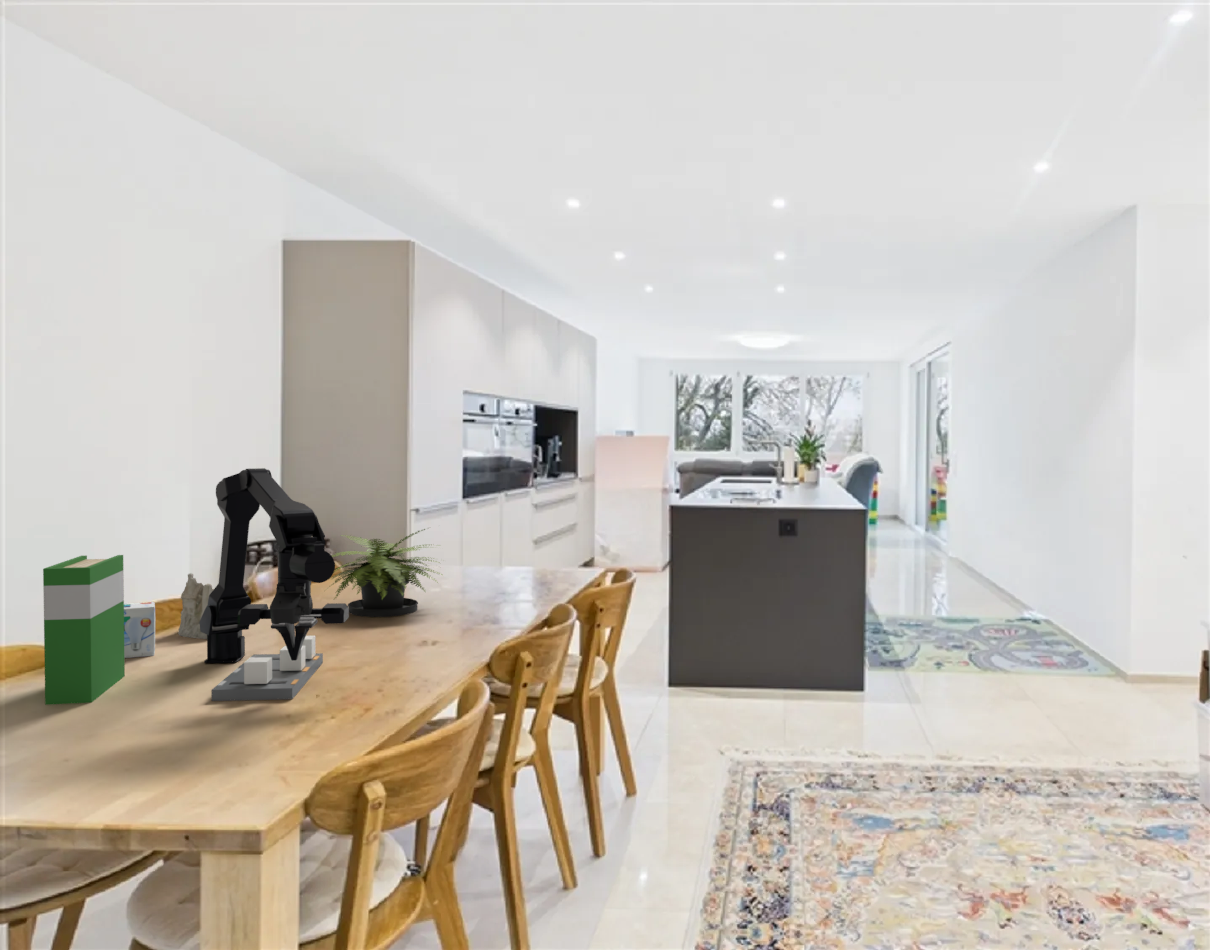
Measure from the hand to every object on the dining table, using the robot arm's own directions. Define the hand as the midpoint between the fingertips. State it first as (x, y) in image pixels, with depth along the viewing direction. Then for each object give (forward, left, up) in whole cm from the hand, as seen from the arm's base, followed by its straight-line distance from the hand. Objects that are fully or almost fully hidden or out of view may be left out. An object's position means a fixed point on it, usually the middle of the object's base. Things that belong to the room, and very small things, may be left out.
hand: (294, 659), depth 162 cm
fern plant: (+5, +79, -6) cm, 80 cm away
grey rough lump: (-32, +55, -6) cm, 64 cm away
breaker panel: (-6, +9, -6) cm, 13 cm away
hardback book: (-39, +5, -6) cm, 39 cm away
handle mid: (-2, +9, -4) cm, 10 cm away
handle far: (-2, +18, -4) cm, 18 cm away
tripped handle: (-6, 0, -4) cm, 7 cm away
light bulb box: (-42, +32, -6) cm, 54 cm away
